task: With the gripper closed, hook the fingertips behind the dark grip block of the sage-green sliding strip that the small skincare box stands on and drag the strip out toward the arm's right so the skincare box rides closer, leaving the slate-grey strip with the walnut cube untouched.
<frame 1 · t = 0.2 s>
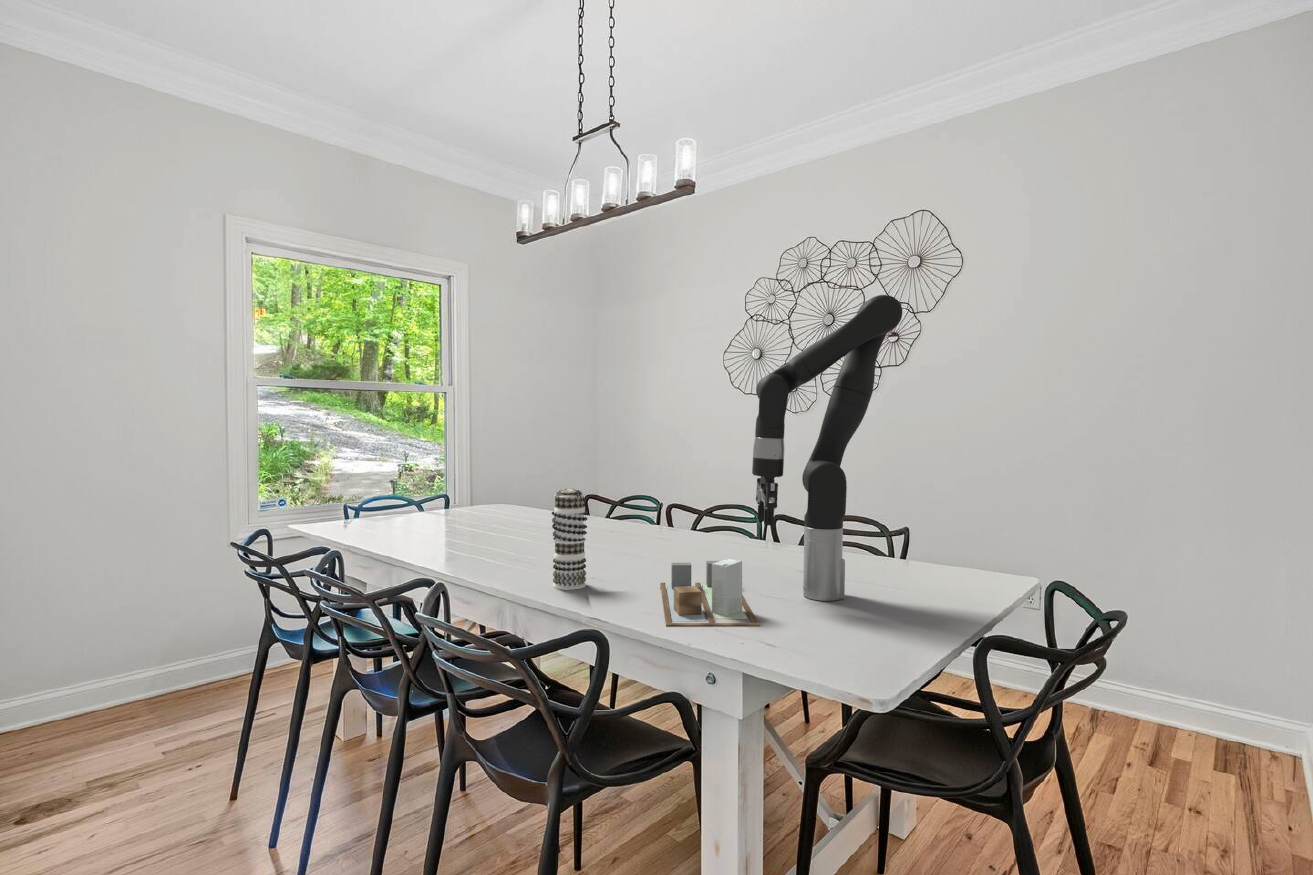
hand: (765, 522, 167), 18 cm above the table, tool pointing down, fingers open, 8 cm apart
strip b: (684, 591, 157), point 4 cm above the table, slide at 0.0 cm, touching walnut cube
strip a: (722, 588, 159), point 4 cm above the table, slide at 2.0 cm, touching skincare box
lane rails: (704, 606, 157), on the table
skincare box: (727, 617, 149), resting on strip a
walnut cube: (687, 611, 149), point 1 cm above the table, touching strip b
decorative candle: (569, 586, 176), on the table
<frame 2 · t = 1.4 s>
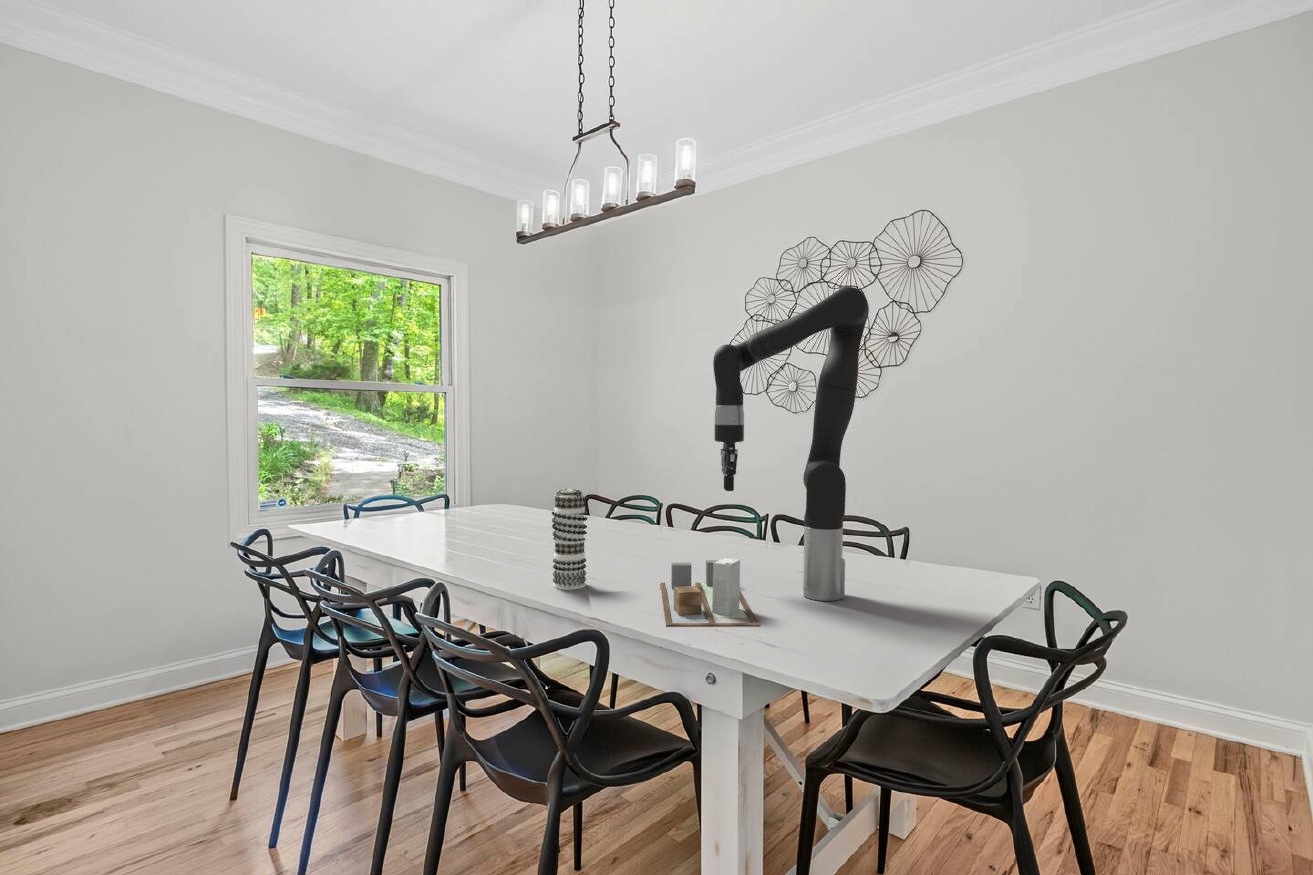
hand: (728, 490, 175), 25 cm above the table, tool pointing down, fingers closed
strip a: (722, 587, 160), point 4 cm above the table, slide at 3.0 cm, touching skincare box
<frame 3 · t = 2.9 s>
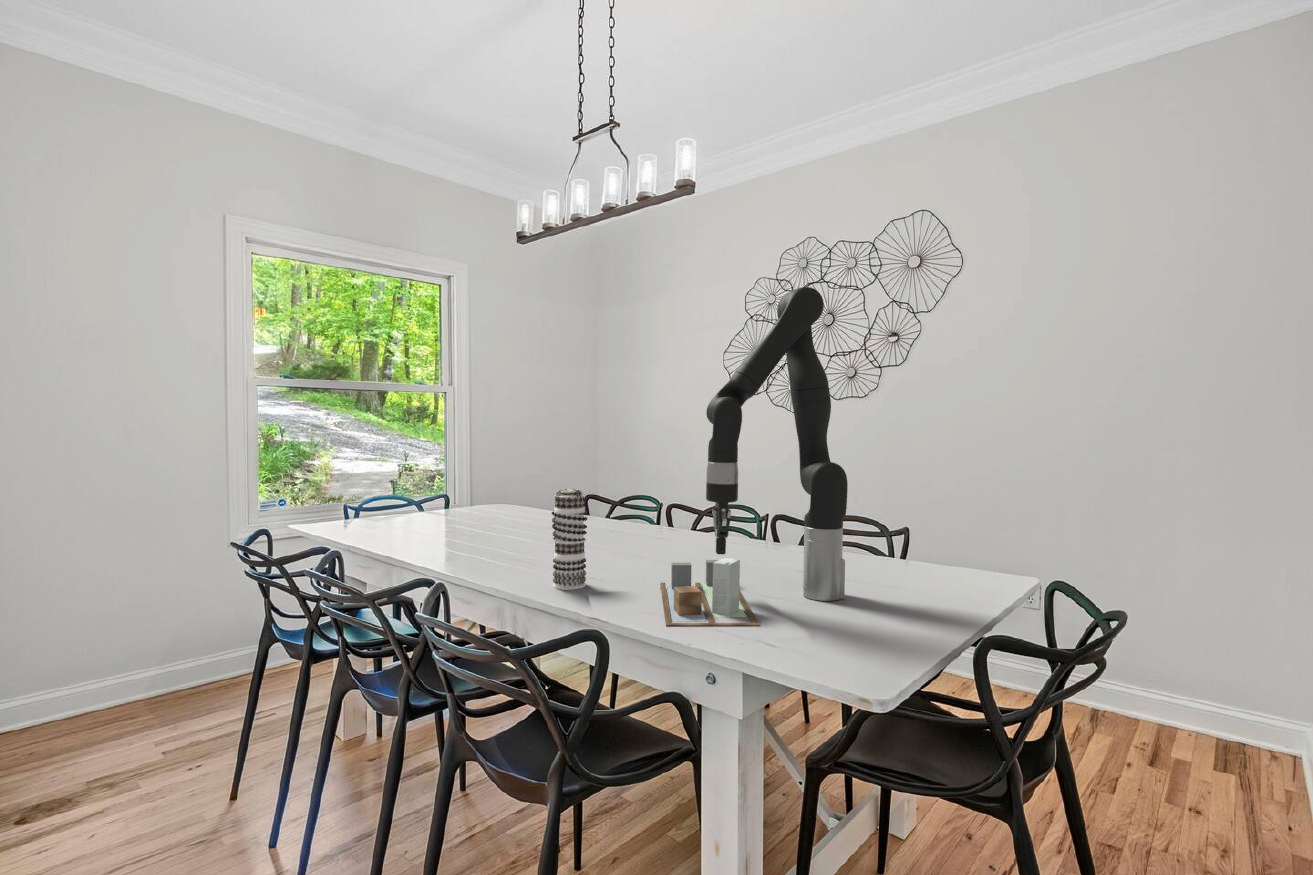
hand: (720, 553, 162), 11 cm above the table, tool pointing down, fingers closed
nothing on the table moved.
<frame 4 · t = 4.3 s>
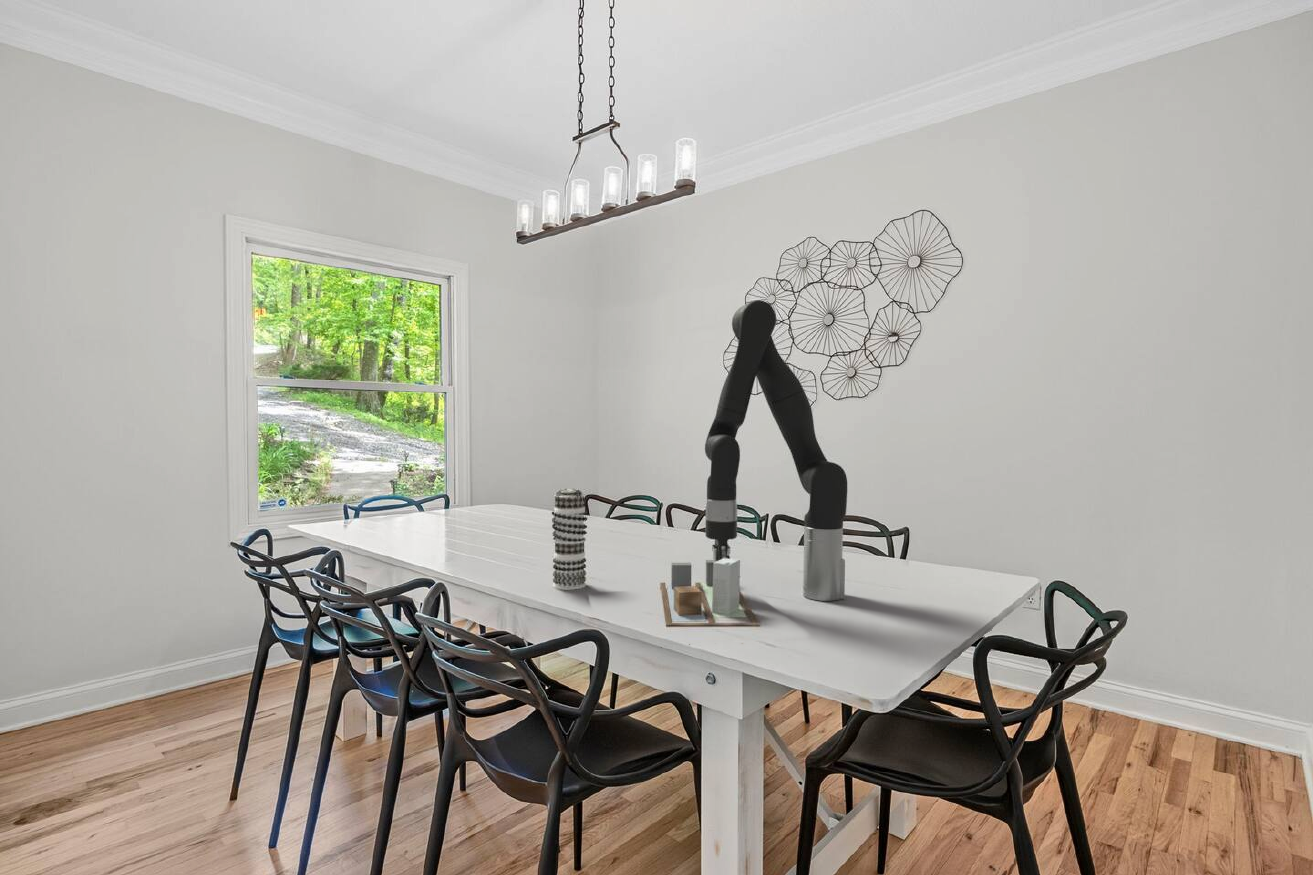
hand: (720, 589, 163), 2 cm above the table, tool pointing down, fingers closed
nothing on the table moved.
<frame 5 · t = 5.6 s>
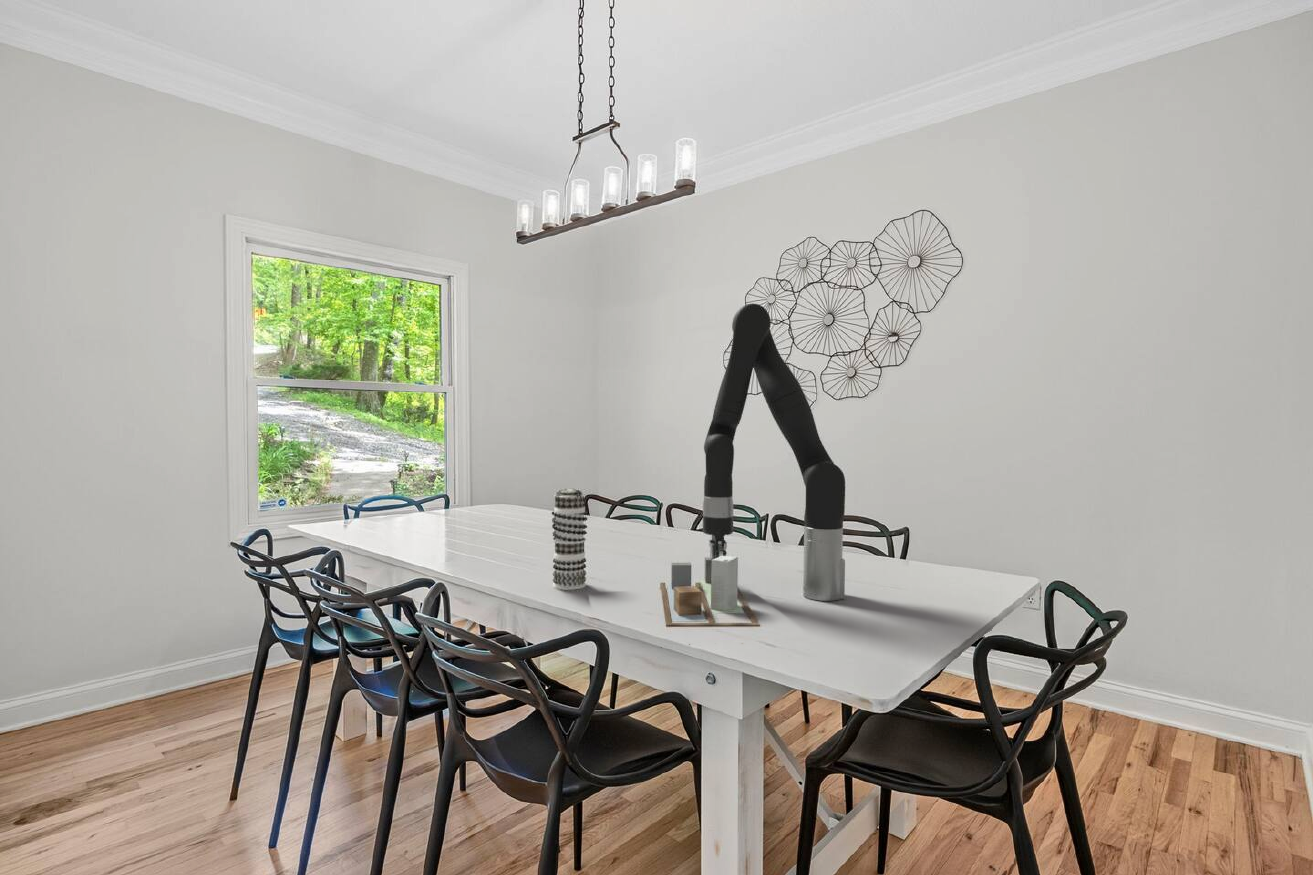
hand: (717, 583, 169), 3 cm above the table, tool pointing down, fingers closed
strip a: (720, 584, 163), point 4 cm above the table, slide at 6.3 cm, touching skincare box
skincare box: (724, 612, 153), resting on strip a
everything else where it was.
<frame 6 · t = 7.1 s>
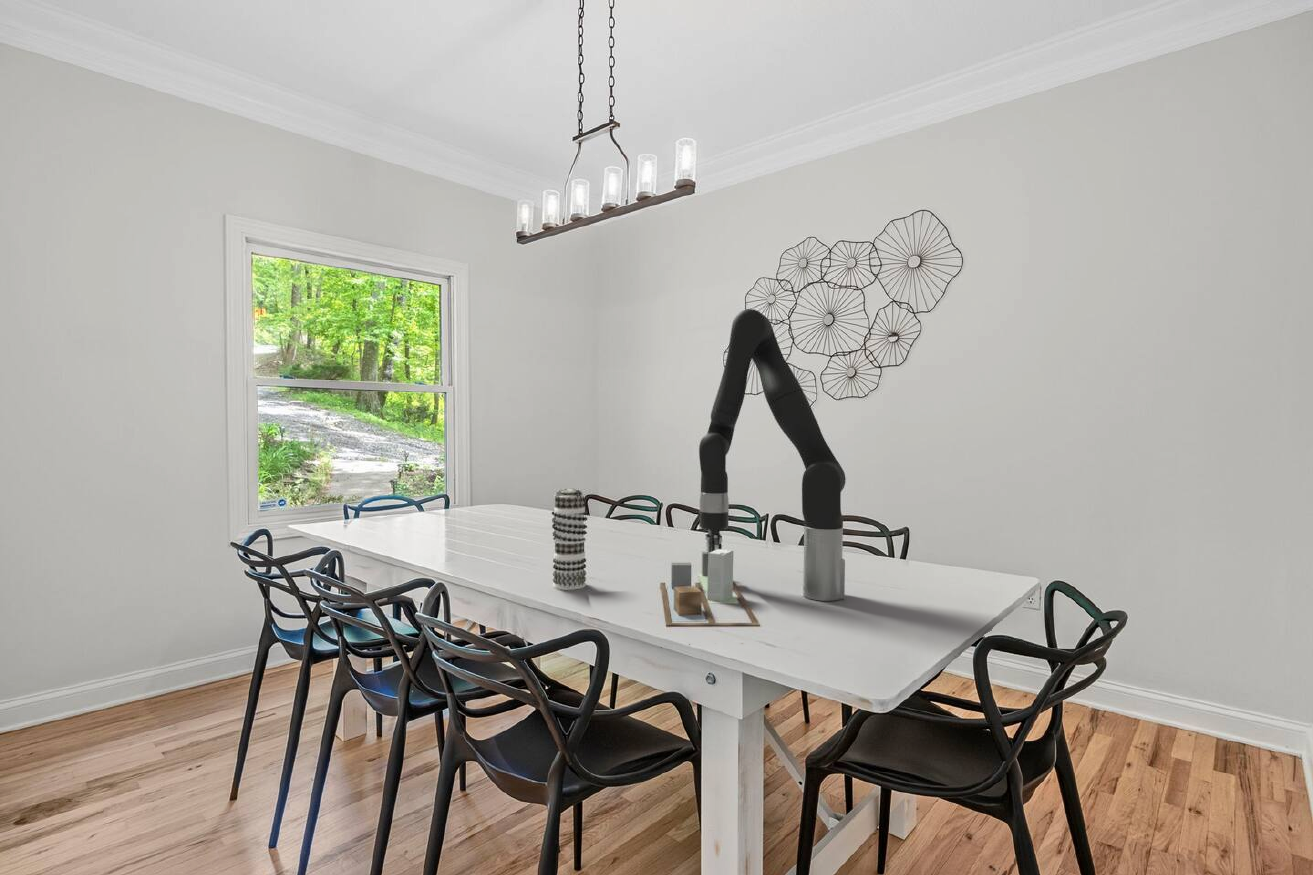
hand: (713, 575, 177), 3 cm above the table, tool pointing down, fingers closed
strip a: (716, 576, 171), point 4 cm above the table, slide at 13.9 cm, touching skincare box
skincare box: (720, 603, 160), resting on strip a
everything else where it was.
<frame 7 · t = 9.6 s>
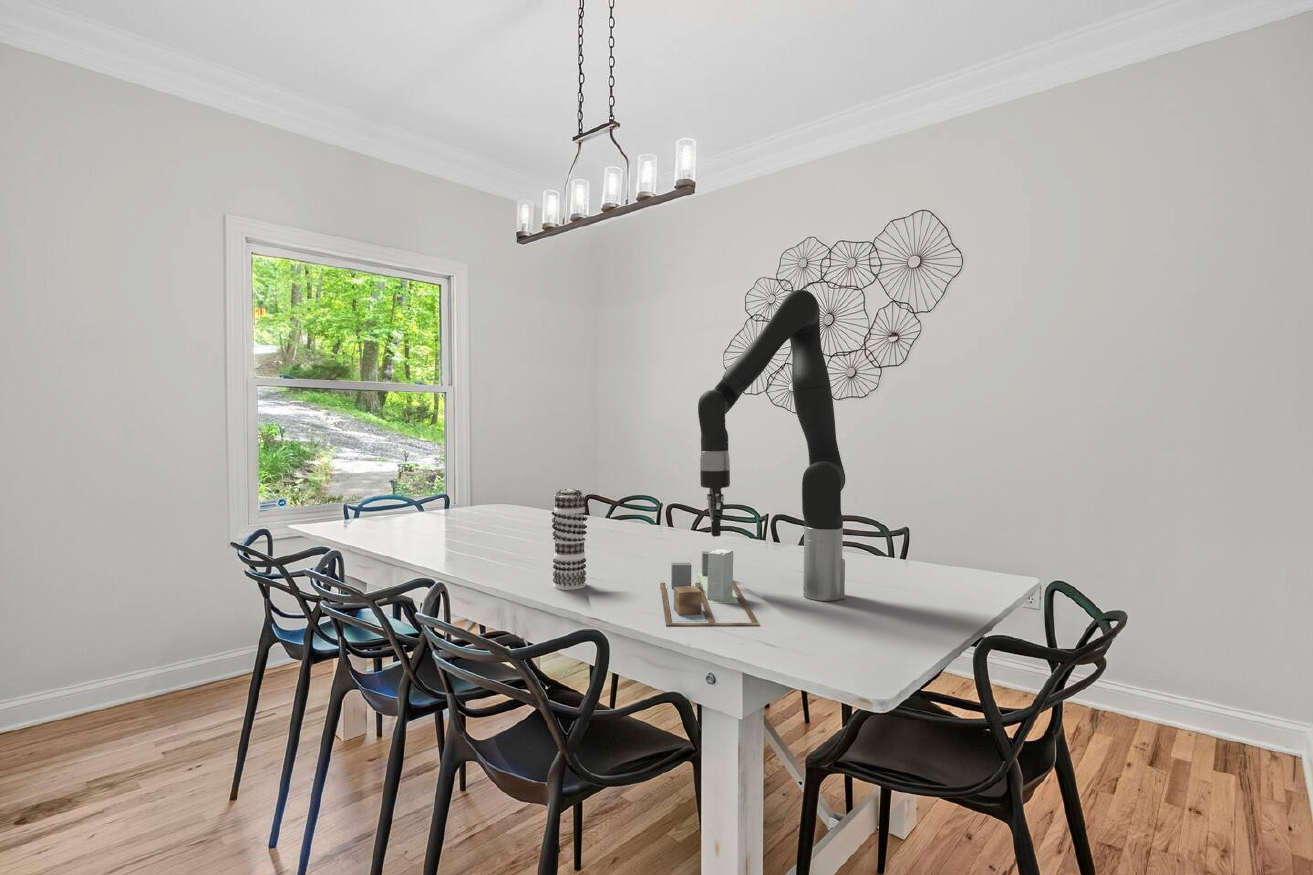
hand: (716, 535, 175), 13 cm above the table, tool pointing down, fingers closed
nothing on the table moved.
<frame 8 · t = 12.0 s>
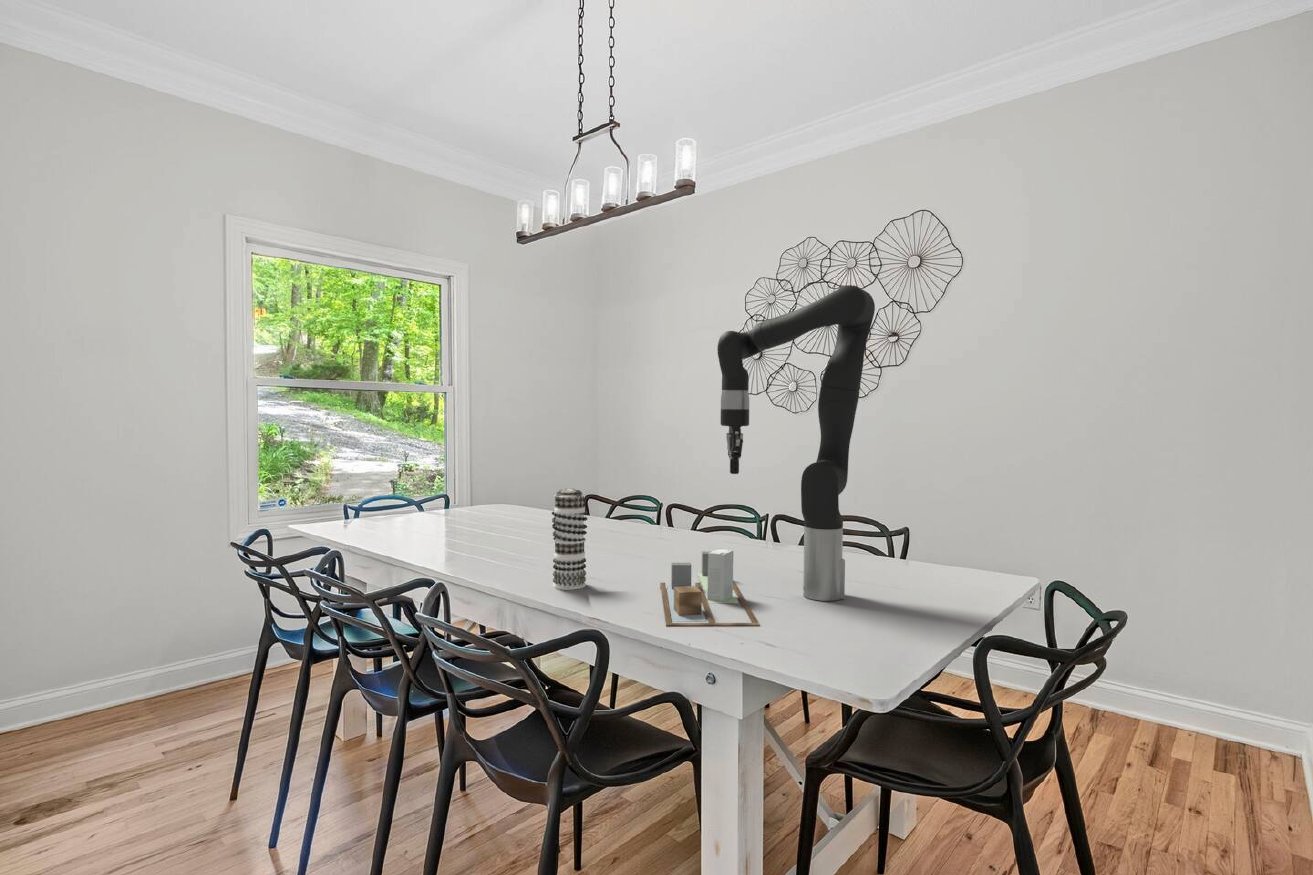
hand: (734, 473, 179), 29 cm above the table, tool pointing down, fingers closed
nothing on the table moved.
at the end: strip a slide at 14.2 cm; skincare box inside the target area (1.7 cm from its centre), resting on strip a; skincare box tilted 1° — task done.
